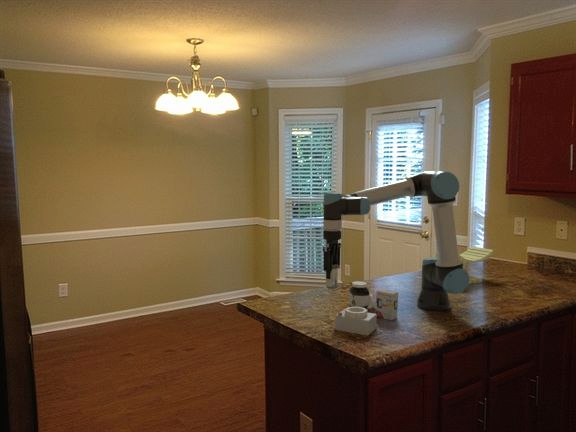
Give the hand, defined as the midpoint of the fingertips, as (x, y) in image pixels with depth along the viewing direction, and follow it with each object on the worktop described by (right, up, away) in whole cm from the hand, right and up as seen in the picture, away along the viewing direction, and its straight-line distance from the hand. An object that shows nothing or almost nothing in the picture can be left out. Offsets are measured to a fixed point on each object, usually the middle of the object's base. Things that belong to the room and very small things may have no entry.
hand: (331, 284), depth 205 cm
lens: (0, -1, 0) cm, 1 cm away
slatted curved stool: (+84, -9, +79) cm, 116 cm away
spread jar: (+17, -14, +24) cm, 33 cm away
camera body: (+9, -17, -6) cm, 20 cm away
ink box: (+25, -16, +9) cm, 31 cm away
